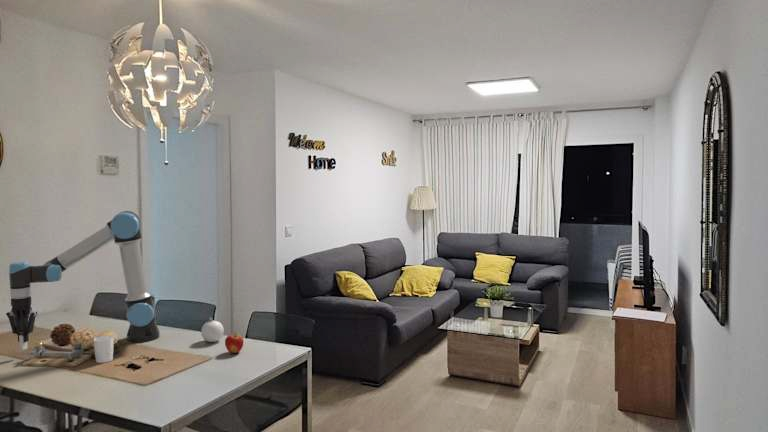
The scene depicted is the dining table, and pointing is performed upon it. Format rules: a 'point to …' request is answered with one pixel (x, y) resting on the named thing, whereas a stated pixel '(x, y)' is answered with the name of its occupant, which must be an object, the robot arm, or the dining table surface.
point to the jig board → (55, 361)
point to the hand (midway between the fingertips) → (23, 348)
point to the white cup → (104, 348)
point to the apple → (234, 343)
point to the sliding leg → (36, 350)
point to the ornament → (212, 331)
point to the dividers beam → (65, 353)
